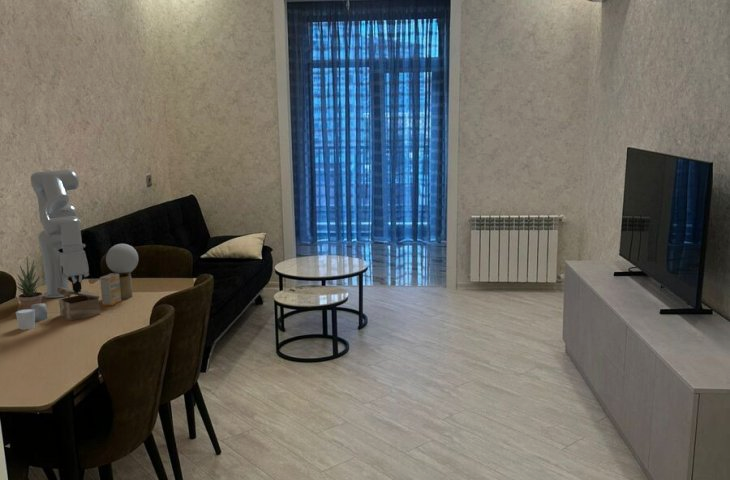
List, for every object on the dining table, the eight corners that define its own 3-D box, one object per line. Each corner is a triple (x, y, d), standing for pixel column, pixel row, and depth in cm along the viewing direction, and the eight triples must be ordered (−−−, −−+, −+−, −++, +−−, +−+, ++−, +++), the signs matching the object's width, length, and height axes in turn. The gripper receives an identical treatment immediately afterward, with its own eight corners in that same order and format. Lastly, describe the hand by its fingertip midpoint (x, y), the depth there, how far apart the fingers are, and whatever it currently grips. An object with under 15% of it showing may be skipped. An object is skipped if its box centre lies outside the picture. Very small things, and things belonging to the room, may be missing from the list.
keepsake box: (60, 315, 287) (58, 299, 285) (88, 309, 295) (87, 293, 294) (71, 320, 278) (69, 304, 277) (100, 314, 286) (98, 298, 285)
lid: (56, 292, 285) (58, 286, 285) (86, 296, 294) (87, 291, 294) (67, 297, 276) (69, 291, 276) (98, 301, 285) (99, 296, 285)
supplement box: (111, 306, 299) (109, 277, 296) (102, 305, 299) (99, 277, 297) (122, 301, 306) (119, 273, 304) (112, 300, 307) (109, 272, 305)
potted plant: (47, 310, 295) (41, 255, 290) (25, 315, 288) (18, 258, 283) (38, 306, 301) (32, 252, 297) (16, 311, 295) (9, 255, 290)
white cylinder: (40, 325, 272) (38, 309, 271) (27, 331, 266) (25, 313, 264) (27, 324, 274) (25, 308, 273) (13, 329, 268) (11, 312, 267)
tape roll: (30, 319, 282) (29, 305, 281) (44, 316, 286) (43, 302, 285) (35, 321, 278) (33, 307, 277) (49, 318, 282) (47, 304, 281)
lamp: (141, 291, 323) (137, 240, 318) (141, 298, 310) (137, 245, 305) (107, 294, 318) (102, 242, 314) (106, 302, 305) (101, 248, 301)
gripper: (87, 245, 286) (91, 287, 288) (50, 250, 275) (55, 294, 278) (94, 246, 280) (98, 289, 283) (57, 252, 270) (62, 296, 273)
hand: (77, 291), depth 281 cm, fingers closed
